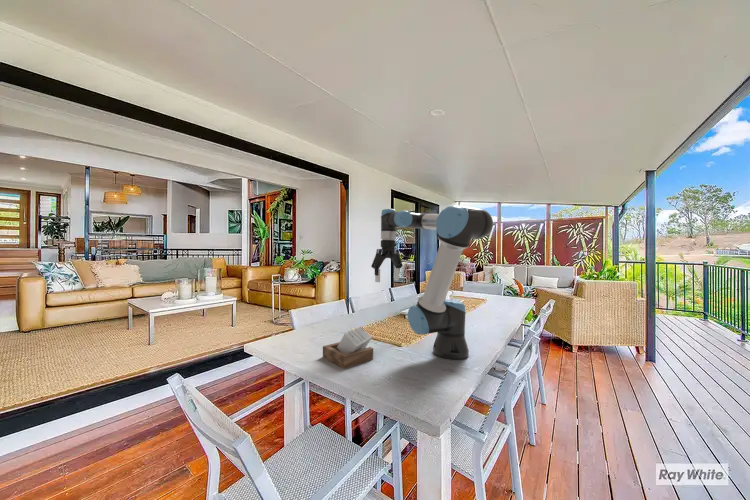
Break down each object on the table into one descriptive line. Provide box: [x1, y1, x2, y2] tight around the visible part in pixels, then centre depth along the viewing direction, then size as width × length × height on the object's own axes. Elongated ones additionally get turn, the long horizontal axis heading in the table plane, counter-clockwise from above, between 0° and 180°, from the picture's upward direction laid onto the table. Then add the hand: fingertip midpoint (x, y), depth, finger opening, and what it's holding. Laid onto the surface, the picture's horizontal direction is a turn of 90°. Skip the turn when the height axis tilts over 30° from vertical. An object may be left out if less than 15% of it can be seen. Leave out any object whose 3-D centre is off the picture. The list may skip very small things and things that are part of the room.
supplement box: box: [337, 326, 373, 354], centre depth 121 cm, size 7×7×13 cm
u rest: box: [322, 341, 374, 370], centre depth 119 cm, size 15×14×4 cm
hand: (387, 281), depth 148 cm, fingers open, 13 cm apart
